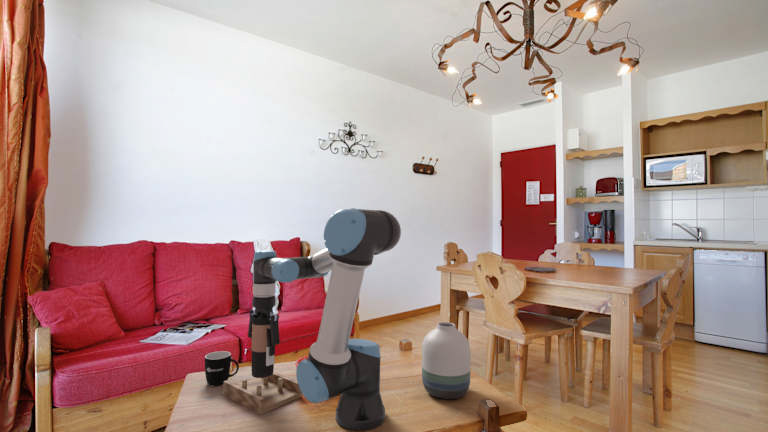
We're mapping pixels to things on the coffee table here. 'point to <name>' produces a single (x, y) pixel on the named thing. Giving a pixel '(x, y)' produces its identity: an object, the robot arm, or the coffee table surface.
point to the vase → (446, 362)
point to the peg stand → (263, 392)
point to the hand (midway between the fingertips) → (262, 361)
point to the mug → (218, 367)
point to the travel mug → (260, 348)
